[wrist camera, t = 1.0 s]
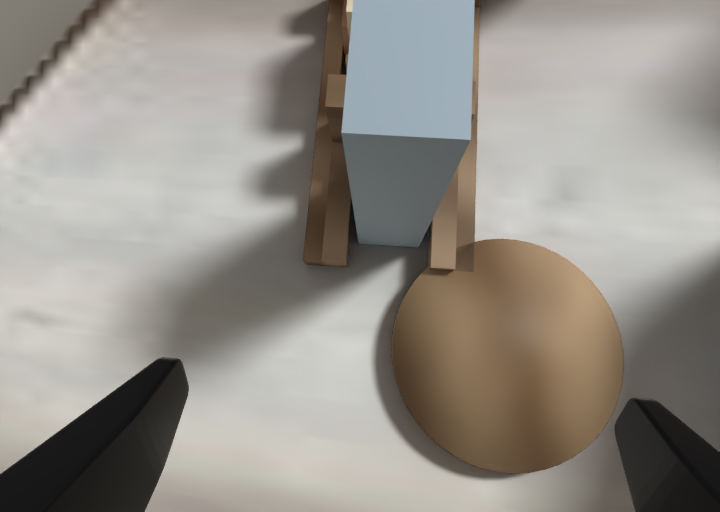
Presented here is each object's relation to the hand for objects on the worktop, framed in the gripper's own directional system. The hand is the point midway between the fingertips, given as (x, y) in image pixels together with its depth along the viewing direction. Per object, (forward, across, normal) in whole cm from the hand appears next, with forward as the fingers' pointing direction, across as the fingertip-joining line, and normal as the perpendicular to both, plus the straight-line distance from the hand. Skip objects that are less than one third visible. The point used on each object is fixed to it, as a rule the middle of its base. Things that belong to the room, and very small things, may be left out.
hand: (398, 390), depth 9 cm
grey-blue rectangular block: (+15, 0, +4) cm, 16 cm away
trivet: (+10, -6, +8) cm, 14 cm away
